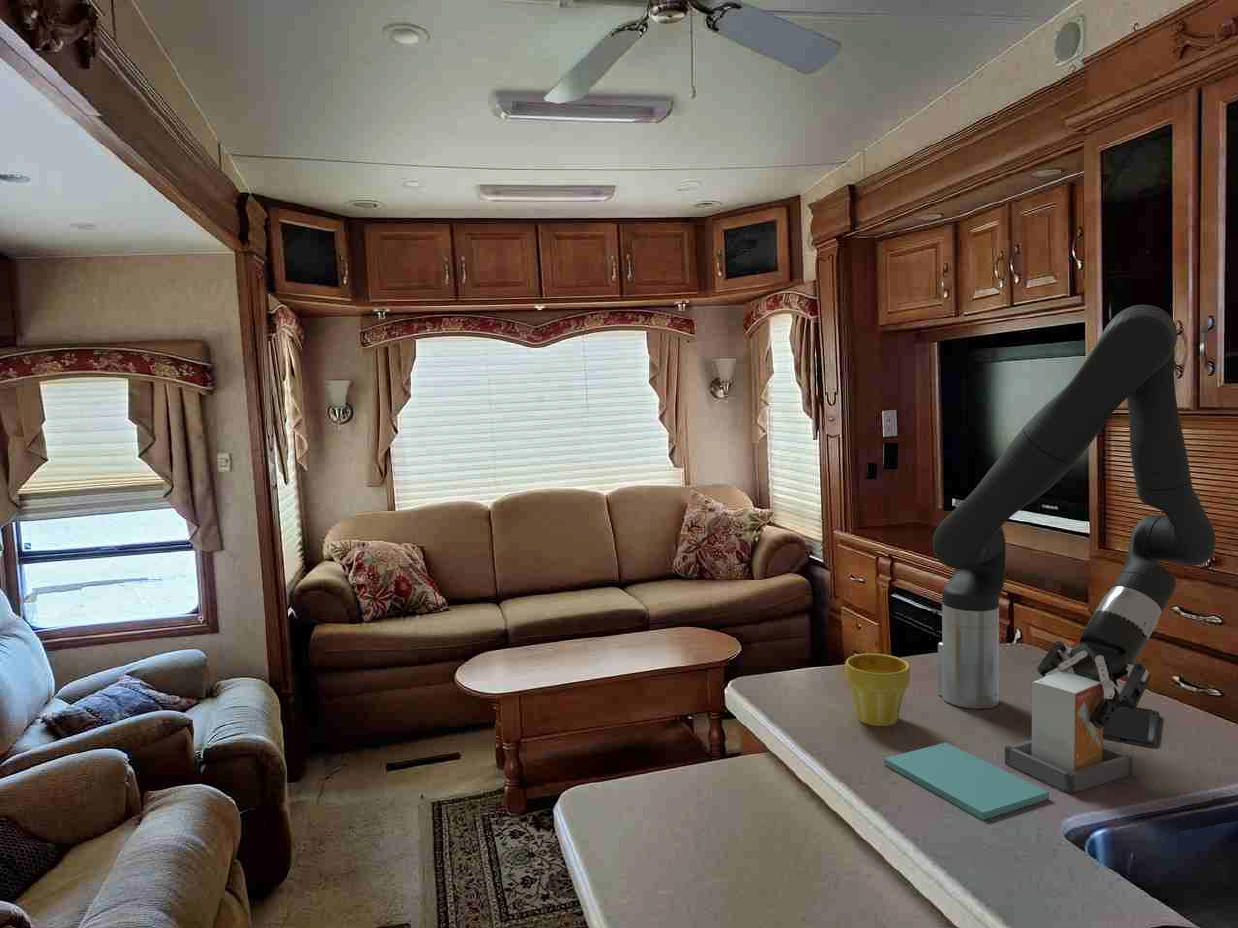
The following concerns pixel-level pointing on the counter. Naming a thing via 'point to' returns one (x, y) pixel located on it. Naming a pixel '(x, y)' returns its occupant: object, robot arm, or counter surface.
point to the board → (966, 780)
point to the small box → (1066, 721)
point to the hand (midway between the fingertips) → (1067, 714)
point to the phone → (1133, 726)
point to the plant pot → (877, 687)
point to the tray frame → (1069, 782)
